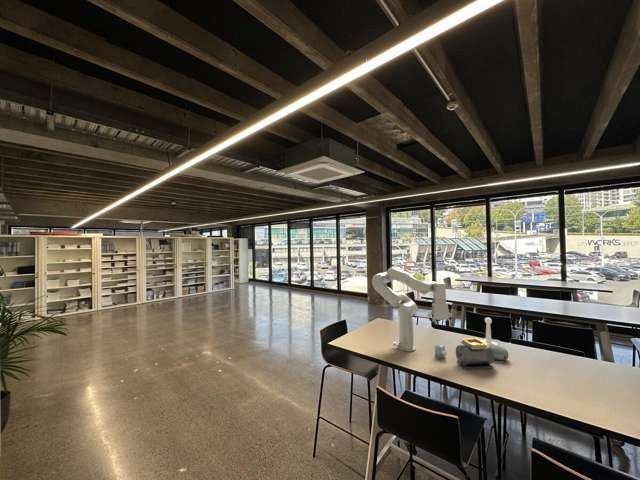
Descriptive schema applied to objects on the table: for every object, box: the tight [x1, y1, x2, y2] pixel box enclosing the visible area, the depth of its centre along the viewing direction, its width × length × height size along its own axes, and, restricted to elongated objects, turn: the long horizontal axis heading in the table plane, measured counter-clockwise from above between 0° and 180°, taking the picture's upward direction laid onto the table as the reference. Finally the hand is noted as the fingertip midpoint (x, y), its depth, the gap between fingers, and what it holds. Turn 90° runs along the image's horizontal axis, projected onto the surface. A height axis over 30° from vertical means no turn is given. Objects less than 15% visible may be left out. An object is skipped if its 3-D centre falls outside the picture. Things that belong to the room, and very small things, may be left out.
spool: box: [488, 345, 509, 361], centre depth 170 cm, size 14×10×10 cm
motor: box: [455, 337, 495, 371], centre depth 160 cm, size 19×11×14 cm, turn 95°
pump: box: [434, 343, 447, 359], centre depth 171 cm, size 6×9×7 cm
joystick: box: [479, 317, 499, 346], centre depth 192 cm, size 11×8×20 cm
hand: (440, 327), depth 173 cm, fingers open, 9 cm apart
